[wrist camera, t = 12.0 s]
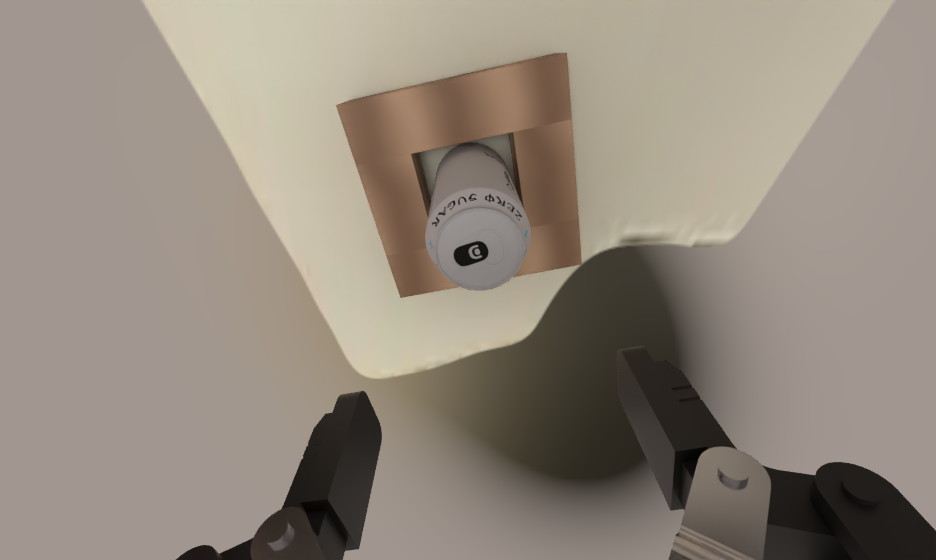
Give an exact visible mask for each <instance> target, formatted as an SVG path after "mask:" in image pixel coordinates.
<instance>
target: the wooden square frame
mask: <svg viewBox="0 0 936 560" xmlns="http://www.w3.org/2000/svg"><path fill="white" fill-rule="evenodd" d="M336 107H337V110H338V113H339V116H340V118H341V121H342V124H343V127H344V130H345V133H346V136H347V139H348V142H349V145H350V148H351V151H352V154H353V157H354V160H355V163H356V166H357V169H358V172H359V175H360V178H361V181H362V184H363V187H364V190H365V193H366V196H367V199H368V202H369V205H370V208H371V211H372V214H373V217H374V220H375V223H376V226H377V229H378V232H379V235H380V238H381V241H382V244H383V247H384V250H385V253H386V256H387V259H388V262H389V265H390V268H391V271H392V274H393V277H394V280H395V283H396V285H397V288H398V291H399V294H400V297H401V298H402V297H407V296H413V295H418V294H424V293H429V292H434V291H440V290H445V289H451V288H456V287H459V286H457V285H455V284H453V283H452V282H451V281H449V280H448V279H447V278H446V277H445V276H444V275H443V274H442V272H441V271H440V270H439V269H438V268H437V267H436V265H435V264H434V263H433V261H432V260H431V258H430V256H429V254H428V251H427V247H426V240H425V233H426V225H427V220H428V215H429V210H430V205H431V200H430V196H429V192H428V188H427V184H426V180H425V176H424V172H423V169H422V165H421V161H420V157H419V153H418V152H422V151H427V150H431V149H436V148H441V147H445V146H450V145H455V144H459V143H464V142H469V141H473V140H478V139H483V138H487V137H492V136H497V135H501V134H506V133H509V139H510V146H511V153H512V160H513V167H514V173H515V180H516V187H517V194H518V196H519V199H520V201H521V203H522V206H523V208H524V210H525V213H526V215H527V217H528V220H529V223H530V228H531V242H530V246H529V250H528V252H527V254H526V257H525V259H524V260H523V262H522V264H521V266H520V268H519V269H518V271H517V272H516V273H515V275H514V276H513V277H516V276H521V275H527V274H532V273H537V272H543V271H548V270H554V269H559V268H564V267H570V266H575V265H581V264H582V262H581V247H580V233H579V219H578V205H577V190H576V176H575V162H574V148H573V133H572V119H571V105H570V91H569V76H568V62H567V53H555V54H550V55H546V56H541V57H537V58H533V59H528V60H524V61H519V62H515V63H511V64H506V65H502V66H498V67H493V68H489V69H484V70H480V71H476V72H471V73H467V74H463V75H458V76H454V77H449V78H445V79H441V80H436V81H432V82H427V83H423V84H419V85H414V86H410V87H406V88H401V89H397V90H392V91H388V92H384V93H379V94H375V95H371V96H366V97H362V98H357V99H353V100H349V101H347V102H344V103H341V104H339V105H336Z"/></svg>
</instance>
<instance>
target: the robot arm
mask: <svg viewBox="0 0 936 560" xmlns="http://www.w3.org/2000/svg"><path fill="white" fill-rule="evenodd" d="M617 378H618V392H619V396H620V400H621V403H622V405H623V408H624V410H625V412H626V414H627V416H628V419H629V421H630V423H631V425H632V428H633V430H634V432H635V434H636V436H637V438H638V440H639V443H640V445H641V447H642V449H643V452H644V454H645V456H646V458H647V460H648V462H649V465H650V467H651V469H652V471H653V473H654V475H655V477H656V480H657V482H658V484H659V486H660V488H661V491H662V493H663V495H664V497H665V499H666V501H667V504H668V506H669V508H670V510H677V509H684V510H685V511H684V515H683V519H682V523H681V526H680V530H679V532H678V534H676V536H675V539H674V542H673V546H672V549H671V553H670V557H669V560H936V531H935V530H934V528H933V527H932V526H931V525H930V524H929V523H928V522H927V521H926V520H925V519H924V518H923V517H922V516H921V514H919V512H918V511H917V510H916V509H915V508H914V507H913V506H912V505H911V504H910V503H909V502H908V501H907V500H906V498H905V497H903V495H902V494H901V493H900V492H899V491H898V490H897V489H896V488H895V487H894V486H893V485H892V484H891V483H889V482H888V481H887V480H886V479H884V478H883V477H881V476H879V475H878V474H876V473H874V472H872V471H870V470H868V469H865V468H863V467H860V466H857V465H854V464H850V463H843V462H833V463H827V464H825V465H823V466H821V467H820V468H819V469H818V470H817V472H816V475H809V474H802V473H794V472H788V471H781V470H776V469H772V468H768V467H765V466H763V465H761V464H760V463H759V462H758V461H757V460H756V459H754V458H753V457H752V456H750V455H748V454H747V453H745V452H743V451H740V450H738V449H737V448H736V447H735V446H734V445H733V444H732V442H731V441H730V439H729V438H728V437H727V435H726V434H725V432H724V431H723V429H722V428H721V427H720V425H719V424H718V422H717V421H716V419H715V418H714V417H713V415H712V414H711V412H710V411H709V409H708V408H707V407H706V405H705V404H704V402H703V401H702V400H700V396H699V395H698V394H697V392H696V391H695V389H694V388H692V386H691V384H690V382H689V381H688V379H687V378H686V377H685V375H684V374H683V372H682V371H681V370H679V369H678V368H677V367H675V366H674V365H672V364H671V363H669V362H668V361H667V360H664V361H657V362H654V360H653V359H652V357H651V356H650V354H649V353H648V351H647V350H646V348H645V347H644V346H639V347H633V348H627V349H621V350H618V351H617ZM381 440H382V433H381V426H380V423H379V420H378V418H377V416H376V414H375V411H374V409H373V407H372V405H371V403H370V400H369V398H368V396H367V394H366V393H365V392H364V391H360V392H355V393H348V394H343V395H340V396H339V397H338V399H337V402H336V404H335V407H334V410H333V413H328V414H325V415H324V416H323V418H322V419H321V420H320V421H319V423H318V424H317V425H316V427H315V428H314V430H313V432H312V435H311V437H310V440H309V442H308V446H307V447H306V450H305V452H304V455H303V459H302V460H301V462H300V465H299V467H298V470H297V473H296V475H295V477H294V480H293V482H292V485H291V487H290V490H289V492H288V495H287V497H286V500H285V502H284V505H283V507H282V509H281V510H279V511H277V512H276V513H274V514H272V515H271V516H270V517H269V518H268V519H267V520H265V521H264V522H263V524H262V525H261V526H260V527H259V529H258V530H257V532H256V534H255V535H254V538H252V539H250V540H248V541H246V542H244V543H242V544H239V545H237V546H235V547H233V548H231V549H229V550H226V551H224V552H222V553H220V554H219V553H218V552H217V551H216V550H215V549H214V548H213V547H211V546H207V545H202V546H198V547H195V548H192V549H191V550H189V551H187V552H185V553H184V554H183V555H181V556H180V557H179V558H177V559H176V560H342V559H343V556H344V552H345V551H346V550H354V549H359V546H360V542H361V536H362V531H363V527H364V522H365V518H366V513H367V508H368V503H369V499H370V494H371V489H372V484H373V480H374V475H375V470H376V465H377V460H378V456H379V451H380V446H381Z"/></svg>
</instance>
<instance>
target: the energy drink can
mask: <svg viewBox="0 0 936 560" xmlns="http://www.w3.org/2000/svg"><path fill="white" fill-rule="evenodd" d="M425 240H426V247H427V251H428V254H429V256H430V258H431V260H432V261H433V263H434V264H435V265H436V267H437V268H438V269H439V270H440V271H441V272H442V274H443V275H444V276H445V277H446V278H447V279H448V280H449V281H451V282H452V283H453V284H455V285H457V286H459V287H462V288H465V289H468V290H476V291H478V290H488V289H493V288H495V287H498V286H500V285H502V284H504V283H505V282H507V281H508V280H509V279H511V278H512V277H513V276H514V275H515V273H516V272H517V271H518V269H519V268H520V266H521V264H522V262H523V260H524V259H525V257H526V254H527V252H528V250H529V246H530V242H531V228H530V223H529V220H528V217H527V215H526V213H525V210H524V208H523V206H522V203H521V201H520V199H519V196H518V194H517V192H516V189H515V187H514V185H513V183H512V180H511V178H510V176H509V173H508V171H507V169H506V166H505V164H504V162H503V160H502V159H501V157H500V156H499V155H498V154H497V153H496V152H495V151H494V150H492V149H491V148H489V147H487V146H484V145H482V144H475V143H470V144H464V145H460V146H458V147H456V148H454V149H452V150H451V151H450V152H448V153H447V154H446V155H445V156H444V158H443V159H442V161H441V162H440V164H439V166H438V170H437V173H436V179H435V184H434V189H433V194H432V199H431V205H430V210H429V215H428V220H427V225H426V233H425Z"/></svg>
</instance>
